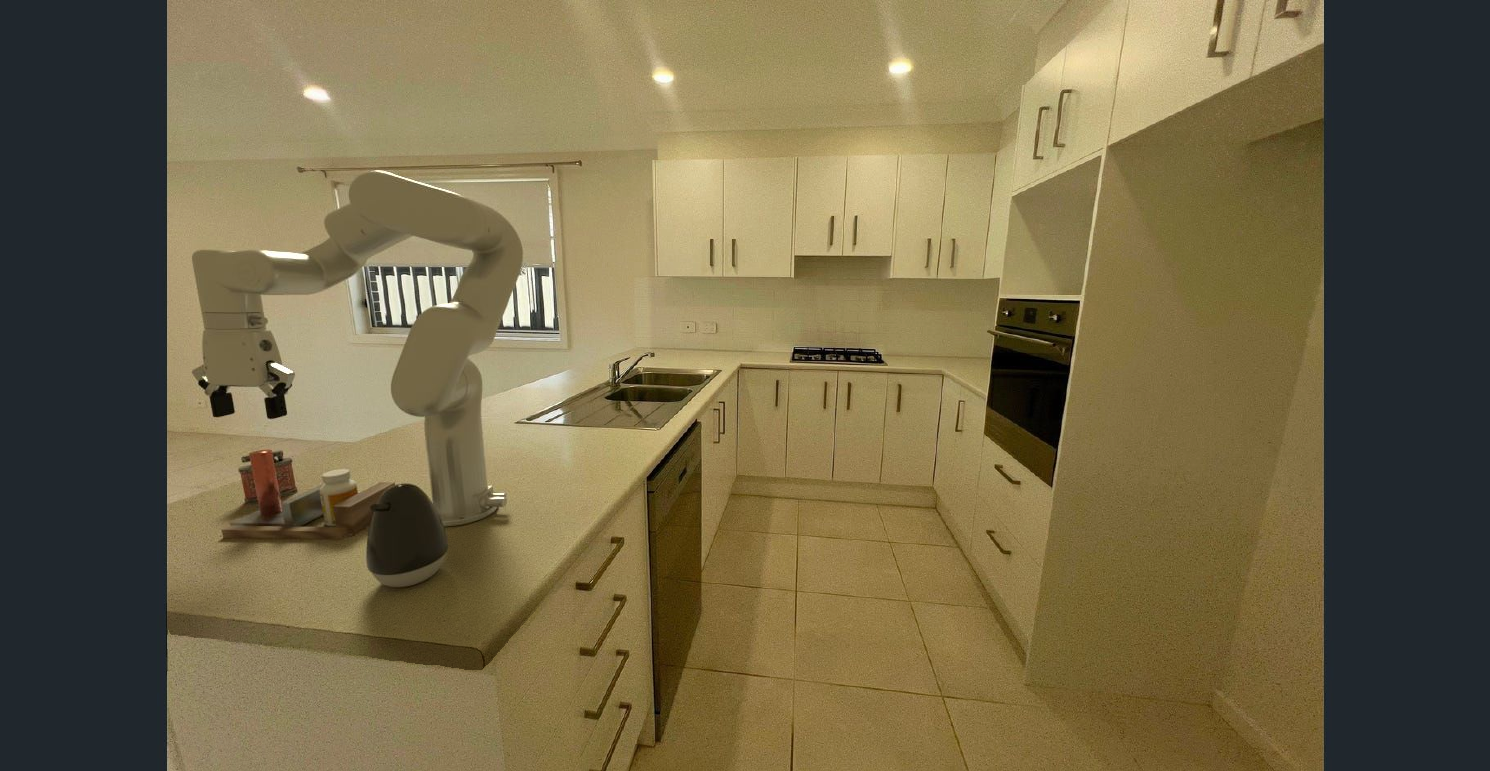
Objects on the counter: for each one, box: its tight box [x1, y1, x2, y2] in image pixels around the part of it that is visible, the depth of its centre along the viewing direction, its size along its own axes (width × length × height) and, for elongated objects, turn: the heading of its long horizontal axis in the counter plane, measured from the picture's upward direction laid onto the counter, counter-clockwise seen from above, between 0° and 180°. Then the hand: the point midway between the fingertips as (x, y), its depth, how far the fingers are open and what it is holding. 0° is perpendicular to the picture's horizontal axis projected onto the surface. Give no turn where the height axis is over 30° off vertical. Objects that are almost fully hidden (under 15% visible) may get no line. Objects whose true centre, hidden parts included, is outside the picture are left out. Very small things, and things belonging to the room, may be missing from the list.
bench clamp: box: [221, 481, 396, 540], centre depth 90 cm, size 22×14×6 cm, turn 90°
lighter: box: [237, 449, 299, 504], centre depth 100 cm, size 8×3×10 cm, turn 144°
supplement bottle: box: [320, 468, 359, 527], centre depth 90 cm, size 5×5×10 cm
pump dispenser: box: [365, 482, 449, 588], centre depth 72 cm, size 10×10×15 cm
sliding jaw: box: [229, 449, 325, 527], centre depth 89 cm, size 12×9×13 cm
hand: (251, 416), depth 87 cm, fingers open, 9 cm apart
